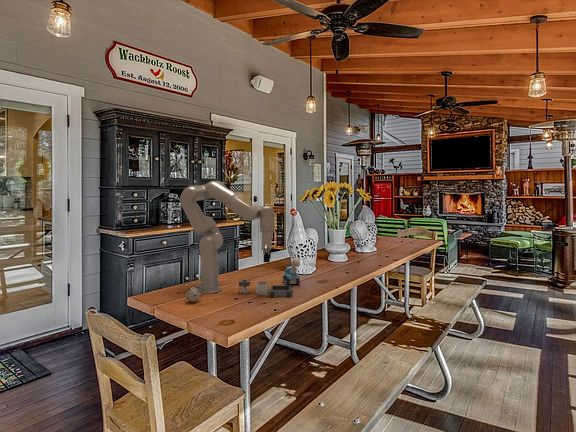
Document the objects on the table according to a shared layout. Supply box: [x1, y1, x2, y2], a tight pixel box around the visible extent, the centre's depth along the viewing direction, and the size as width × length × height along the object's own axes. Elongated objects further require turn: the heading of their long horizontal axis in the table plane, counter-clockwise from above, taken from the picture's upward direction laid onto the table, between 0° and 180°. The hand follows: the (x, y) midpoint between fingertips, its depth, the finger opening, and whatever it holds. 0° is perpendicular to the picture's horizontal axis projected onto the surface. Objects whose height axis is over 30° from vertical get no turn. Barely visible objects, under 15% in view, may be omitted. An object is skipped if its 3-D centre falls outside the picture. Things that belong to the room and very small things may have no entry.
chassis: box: [267, 284, 294, 298], centre depth 205 cm, size 13×13×3 cm
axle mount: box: [240, 286, 250, 295], centre depth 207 cm, size 5×5×4 cm
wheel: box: [238, 279, 251, 287], centre depth 207 cm, size 6×6×2 cm
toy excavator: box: [281, 257, 301, 285], centre depth 222 cm, size 9×17×17 cm, turn 15°
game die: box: [183, 285, 203, 304], centre depth 191 cm, size 9×8×10 cm
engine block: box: [255, 281, 269, 296], centre depth 205 cm, size 6×5×6 cm
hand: (267, 260), depth 204 cm, fingers open, 9 cm apart
